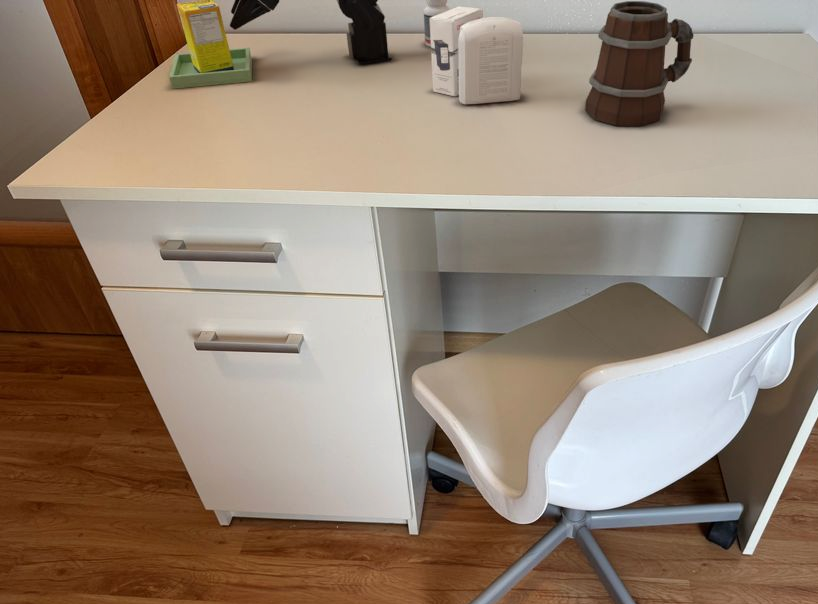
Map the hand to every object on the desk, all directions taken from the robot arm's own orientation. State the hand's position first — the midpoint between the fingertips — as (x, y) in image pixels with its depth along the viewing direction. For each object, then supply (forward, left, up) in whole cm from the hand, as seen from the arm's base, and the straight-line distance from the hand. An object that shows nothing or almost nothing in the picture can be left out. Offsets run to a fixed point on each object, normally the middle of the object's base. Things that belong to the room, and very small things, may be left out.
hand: (232, 20), depth 117 cm
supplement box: (+5, -1, -8) cm, 10 cm away
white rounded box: (-33, +35, -9) cm, 49 cm away
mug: (-51, +50, -9) cm, 72 cm away
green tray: (+5, -1, -8) cm, 10 cm away
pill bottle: (-38, +3, -9) cm, 39 cm away
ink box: (-31, +27, -9) cm, 42 cm away
